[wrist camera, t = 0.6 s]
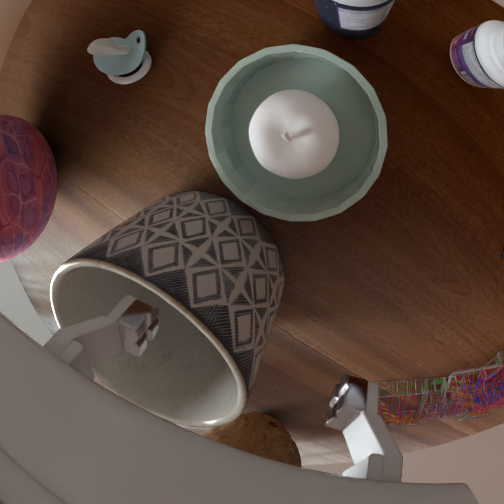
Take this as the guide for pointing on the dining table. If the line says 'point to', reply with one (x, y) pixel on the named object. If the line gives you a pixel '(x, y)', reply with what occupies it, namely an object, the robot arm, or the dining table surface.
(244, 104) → the fruit bowl
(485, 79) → the pill bottle
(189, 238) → the planter
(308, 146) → the plain white apple
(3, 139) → the decorative sphere
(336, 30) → the beverage can
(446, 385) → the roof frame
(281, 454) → the bowl
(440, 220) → the dining table surface
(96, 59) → the pacifier
